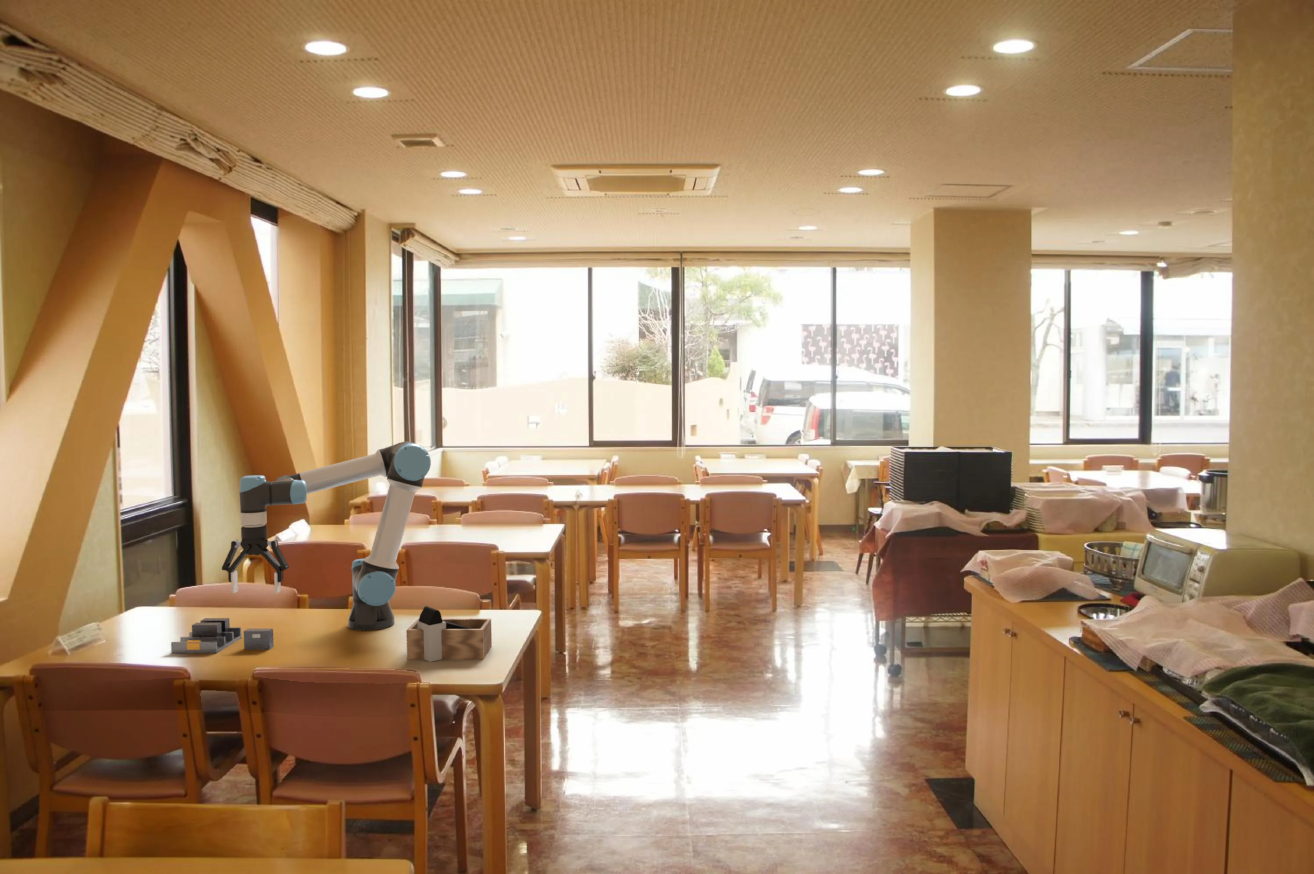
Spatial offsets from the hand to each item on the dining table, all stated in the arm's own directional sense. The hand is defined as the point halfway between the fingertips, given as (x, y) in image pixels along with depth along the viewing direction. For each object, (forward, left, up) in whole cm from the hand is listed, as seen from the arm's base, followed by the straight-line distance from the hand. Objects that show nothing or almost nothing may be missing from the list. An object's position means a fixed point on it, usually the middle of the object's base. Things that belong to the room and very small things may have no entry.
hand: (256, 592), depth 299 cm
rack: (+18, -3, -18) cm, 25 cm away
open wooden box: (-62, +6, -18) cm, 65 cm away
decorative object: (-62, +6, -18) cm, 65 cm away
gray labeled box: (0, 0, -18) cm, 18 cm away
